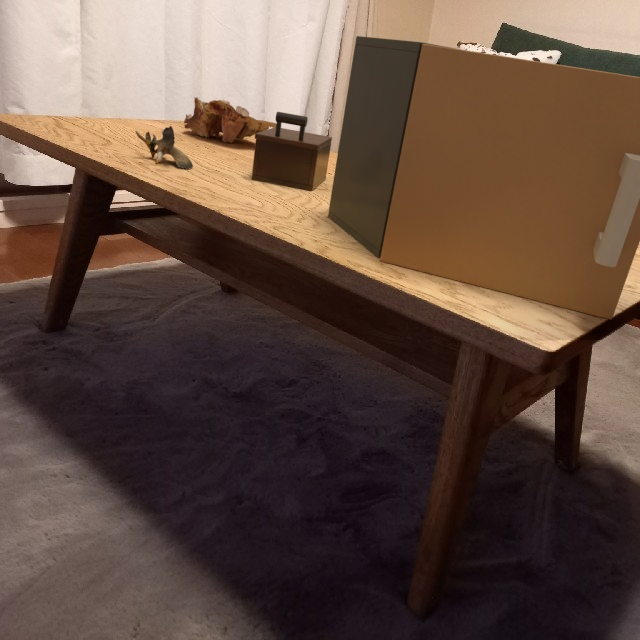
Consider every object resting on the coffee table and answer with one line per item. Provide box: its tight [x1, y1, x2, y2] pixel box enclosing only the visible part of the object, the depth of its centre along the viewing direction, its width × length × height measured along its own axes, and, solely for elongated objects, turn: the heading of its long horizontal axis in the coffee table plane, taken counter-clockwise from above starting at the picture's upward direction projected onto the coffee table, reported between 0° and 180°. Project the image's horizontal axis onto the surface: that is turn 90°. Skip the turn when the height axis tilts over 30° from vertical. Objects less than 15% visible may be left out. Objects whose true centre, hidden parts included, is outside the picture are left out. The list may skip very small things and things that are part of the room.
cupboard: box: [327, 35, 463, 259], centre depth 84 cm, size 18×26×24 cm
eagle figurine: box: [135, 125, 194, 169], centre depth 109 cm, size 8×7×9 cm
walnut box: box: [251, 139, 332, 192], centre depth 112 cm, size 13×11×7 cm
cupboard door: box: [379, 43, 640, 320], centre depth 65 cm, size 7×26×24 cm, turn 69°
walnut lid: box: [254, 111, 333, 150], centre depth 109 cm, size 13×11×5 cm
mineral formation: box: [183, 97, 277, 144], centre depth 140 cm, size 23×16×10 cm
